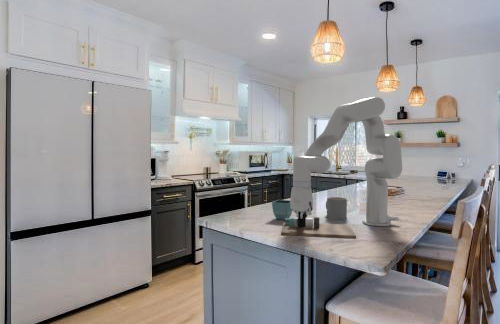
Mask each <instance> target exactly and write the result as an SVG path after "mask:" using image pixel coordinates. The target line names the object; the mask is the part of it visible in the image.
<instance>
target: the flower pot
mask: <svg viewBox="0 0 500 324" xmlns="http://www.w3.org/2000/svg"><path fill="white" fill-rule="evenodd" d="M271 207H272V212H273V216H274V218H276V220H284V221H285V218H291V215H292V213H293V210H292V209H291V208H290V200H285V199H277V200H274V201H271Z"/></svg>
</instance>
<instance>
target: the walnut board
mask: <svg viewBox="0 0 500 324" xmlns="http://www.w3.org/2000/svg"><path fill="white" fill-rule="evenodd" d="M289 218H290V217H289ZM289 218H285V220H284V222H283V223H282V228H281V231H280V233H281V234H280V235H281V236H301V237H323V238H324V237H325V238H346V239H356V238H357V234H356V233H355V231H354V230H353V229H352V227H351V226H350V224H337V223H334V224H333V223H320V217H318V216H314V217H313V227H301V228H300V227H290V226H289Z"/></svg>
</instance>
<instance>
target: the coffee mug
mask: <svg viewBox="0 0 500 324" xmlns="http://www.w3.org/2000/svg"><path fill="white" fill-rule="evenodd" d="M325 209H326V218H327V219H330V220H335V221H338V220H339V221H341V220H342V221H344V220H347V217H348V216H347V215H348V211H347V209H348V199H347V198H346V197H342V196H341V197H340V196H338V197H337V196H330V197H327V198H326V202H325Z"/></svg>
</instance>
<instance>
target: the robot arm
mask: <svg viewBox="0 0 500 324" xmlns="http://www.w3.org/2000/svg"><path fill="white" fill-rule="evenodd" d="M385 108H386V103H385V101H384V99H382V98H381V97H379V96H373V97H368V98H362V99H358V100H355V101H354V102H350V103H345V104H341V105H339V106H337V107H336V108H335V110H334V111H333V113H332V115H331V116H330V119H329V121H328V122H327V125H326V126H325V129H324V130H323V132H322V133H321V134H320V135H318V137H317V138H316V139H315V140H313V142H312V143H311V144H310V145H309V147H308V148H307V149H306V152H305V154H304V155H301V156H300V155H296V156H294V158H293V162H292V163H293V166H292V170H293V171H292V172H293V173H292V175H293V176H292V177H293V178H292V179H293V180H292V186H293V187H291V192H290V199H289V201H290V208H291V209H292V212H294V213H295V215H296V218H298V227H300V228H301V227H305V226H306V218H308V216H311V215H312V211H313V210H314V209H313V208H314V198H313V190H312V187H311V185H312V173H317V174H323V173H326V172H327V171H328V170H330V168H331V161H330V159H329V158H328V157H326V156H324V155H323V153H325V152H326V151H327V150H329V149H330V148H331V147H333V146H335V145H337V144H338V143H339V142H341V141H342V139H343V137H344V135H345V133H346V131H347V129H348V128H349V125H350V124H351V123H353V124H354V123H360V122H361V123H362V125H363V127H364V135H365V136H364V137H365V146H366V151H367V153H368V154H370V155H372V156H374V155H375V156H376V155H377V156H382V157H372V158H369V159H368V160H367V161H366V163H365V165H364V172H365V178H366V179H365V181H366V193H365V194H366V197H365V200H366V201H365V202H366V203H365V204H366V205H365V206H366V207H365V208H366V209H365V218H364V219H362V223H363V224H365V225H368V226H371V227H372V226H373V227H389V226H391V225H392V221H395V222H399V217H398V216H394V215H389V214H388V211H389V210H388V209H389V208H388V207H389V205H388V203H389V200H388V199H389V185H388V182H387V180H396V179H398V178H399V177H400V176H401V174H402V171H403V160H402V157H403V156H402V147H401V146H402V145H401V142H400V140H399V138H398V137H397V136H396V135H394V134H392V133H385V126H384V121H383V119H382V118H381V115H382V114H383V113H384V111H385Z"/></svg>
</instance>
